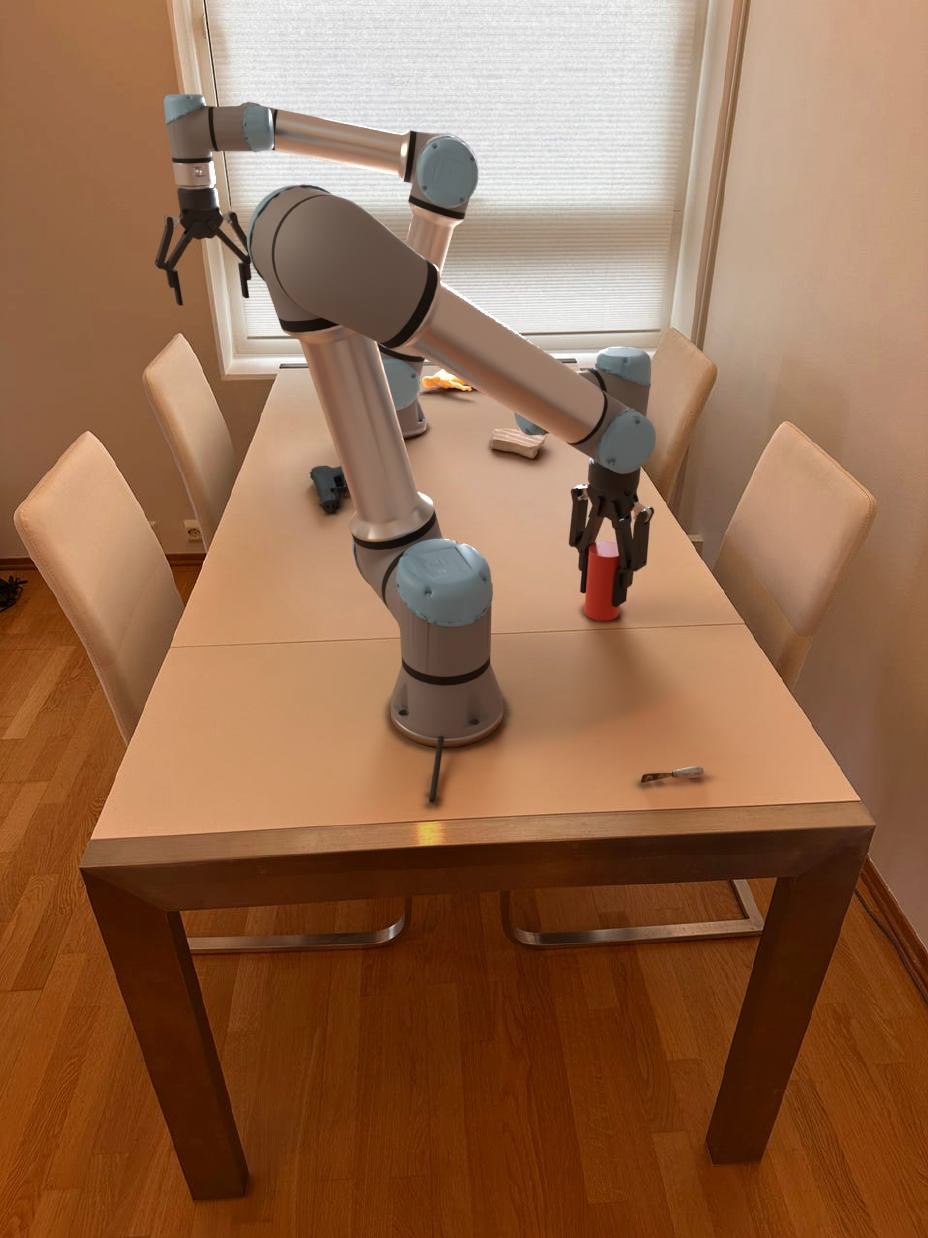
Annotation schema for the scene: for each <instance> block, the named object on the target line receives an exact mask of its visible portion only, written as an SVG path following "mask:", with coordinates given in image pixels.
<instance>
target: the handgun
mask: <svg viewBox="0 0 928 1238" xmlns="http://www.w3.org/2000/svg"><path fill="white" fill-rule="evenodd" d="M309 475H310V476H309V478H310V479H311V480H312V481H313V484H314V488H315V490H316V493H317V496H318V498H319V502H320V503H319V504H317V505H318V507H320V508H322V511H324V513H326V514H330V513H336V510H337V508H338V509H340V508H341V501H340V496H339V495H341V494H346V493H347V492H348V490H347V489H348V485H347V482H346V479H345V476H344V473H343V470H342V467H341V465H340V466H337V467H331V466H329V465H318V466H314V467H313V468H311V470H310V471H309Z"/></svg>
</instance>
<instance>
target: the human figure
mask: <svg viewBox="0 0 928 1238" xmlns="http://www.w3.org/2000/svg"><path fill="white" fill-rule="evenodd" d="M421 381H422V386H424V387H425V388H429V389H430V388H433V387H436V384H438V385H440V386H441V388H444V389H449V388H451V389H453V388H456V389H460V390H462V391H466V390H467V392H471V391H472V390H473V389H472V386H470V385H468V384H466V383H465V382H463V381H461V380H460V379H458V378H456V377H455V376H453V375H451V374H450V373H447V372H446V371H445V370H443V369H441V370H439V371H438V372H436V373H435V374H434V375H432V376H429V375H426V376H424V377H423V378H422V380H421Z"/></svg>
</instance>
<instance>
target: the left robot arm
mask: <svg viewBox="0 0 928 1238" xmlns="http://www.w3.org/2000/svg"><path fill="white" fill-rule="evenodd" d="M163 107H164V116H165V122H164V123H165V126H166V132H167V137H168V143H169V149H170V154H171V155H170V156H171V162H172V168H173V175H174V182H175V185H176V186H177V187H178V188H177V190H176V194H177V199H178V200H177V201H178V207H179V216H170V215H169V214H166V215H165V216H164V218H163V219H164V230H163V232H162V236H161V240H160V243H159V247H158V250H157V253H156V257H155V260H154V265H155V267H157V269H160V270H164V271H165V275H166V281H167V286H168V287H169V288H170V289H173V291H174V297H175V301H176V304H177V305H178V306H184V302H183V301H184V300H183V296H182V291H181V284H180V279H179V277H180V276H179V272H178V270H177V269H175V267H176V265H177V264H178V262H179V260H180V259H181V257H182V256H183V254H184V252H185V251H186V249H187V248H188V246H189V244H190V243H191V242H192V240H193V239H195V240H198V241H199V240H203V239H209V240H210V239H211V240H212V239H214V238H215V237H217V238H218V239H219V240H220V241H221V242H222V243H223V244H225V246H226V247H227V248H228V249H229V250H230V251H231V252H232V253H233V254H234V255H235V256H236V257H237V258H238V259H239V260H240V261H241V262H237V267H238V273H239V281H240V288H241V296H242V297H243V298H244V299H250V293H249V285H248V284H249V283H248V281H251V280H252V271H251V265H252V262H251V259H250V255H249V252H248V247H247V234H246V233H245V232H244V230H243V228H242V227H241V225H240V222H239V219H238V215H237V213H236V212H235V211H233V210H228V211H227V212H225V213H222V212H221V209H220V203H219V202H220V201H219V195H218V188H216V187H215V184H216V183H217V182H216V181H217V180H216V174H215V168H214V159H213V152H215V153H217V152H254V153H260V152H268V151H274V152H281V153H285V154H290V155H294V156H295V155H296V156H300V157H305V158H311V159H315V160H319V161H324V162H330V163H334V164H341V165H345V166H350V167H354V168H359V169H365V170H370V171H375V172H380V173H383V174H388V175H389V174H390V175H395V176H397V177H398V178H399V179H400V181H401V182H402V183H408V184H411V188H410V193H409V196H408V200H407V204H408V205H409V207H410V210H411V212H412V216H411V220H410V224H409V228H408V232H407V236H406V240H405V243H406V244H407V245H408V246H409V247H411V248H412V249H413V250H414V251H416V252H417V253H418V254H420V255H421V256H422V257H424V258H425V259H427V260H428V261H430V262H431V263H433V264H434V265H435V266H436V267H437V268H438V270H439V273H440V277H441V276H442V274H443V273H442V272H443V269H444V265H445V262H446V258H447V255H448V252H449V251H448V250H449V247H450V244H451V240H452V236H453V232H454V229H455V227H456V226H458V225H459V224H461V223H463V222H464V221H465V218H466V214H467V212H468V211H467V210H468V208H469V204H470V200H471V197H472V196H473V194H474V193H475V191H476V190H477V186H478V183H479V179H480V178H479V177H480V170H479V163H478V159H477V157H476V154H475V152H474V150H473V149H472V148H471V146H469V144H468V143H466V141H465V140H463V139H461V138H460V137H459V136H456V135H455V134H452V133H445V132H424V131H416V130H412V129H407V131H405V132H404V133H399V132H394V131H393V132H392V131H388V130H383V129H379V128H373V127H370V126H369V127H368V126H364V125H358V124H354V123H348V122H344V121H339V120H334V119H330V118H324V117H321V116H320V117H319V116H314V115H309V114H304V113H300V112H295V111H289V110H284V109H279V108H274V107H270V106H264V105H261V104H259V103H256V102H253V101H252V102H249V101H247V102H242V103H241V104H239V105H229V106H227V105H226V106H214V105H212V106H211V105H207V102H206V100H205V96H203V95H202V94H200V93H175V94H167V95H166V96H165V97H164V99H163ZM224 221H225V222H226V224H227V225H230V226H231V227H230V228H231V229H232V230H233V232H234V234H235V235H236V236H237V238H238V240H239V242H240V243H241V245H242V247H243V248H244V251H246V253H247V254H245V253H244V252H243V251H242V249H240V248H239V247H238V246H237V245H236V243H234V242H233V241H232V240H231V238H229V237H228V236H227V234H226V233H225V232H224V231H223V230H222V229H221V227H222V224H223V222H224ZM178 224H180V226H182V228H183V229H184V230H183V232H182V233H181V235H180V236H181V237H180V238H179V240H178V242H177V243H176V245H175V247H174V249H173V250H172V252H171V254H170V255H169V256H168V259H167V255H168V252H169V249H170V245H171V241H172V238H173V235H174V230H175V229H176V228H177V227H178ZM166 259H167V260H166ZM377 346H378V349H379V353H380V356H381V360H382V364H383V367H384V371H385V374H386V378H387V382H388V385H389V389H390V392H391V396H392V400H393V403H394V407H395V410H396V414H397V418H398V421H399V425H400V428H401V432H402V436H403V439H409V438H413V437H417V436H419V435H421V434H423V433H424V432H425V431H426V430H427V419H426V414H425V412H424V409H423V407H422V404H421V401H420V399H419V398H420V397H419V392H420V390H421V375H422V372H423V368H424V364H425V360H426V359H424V358H423V357H421V356H419V355H417V354H416V353H414V352H412V351H411V350H409V349H407V348H406V347H403V348H400V349H397V350H390V349H388V348H386V347H385V346H383V345H381V344H379V343H378V342H377Z"/></svg>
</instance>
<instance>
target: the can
mask: <svg viewBox="0 0 928 1238" xmlns="http://www.w3.org/2000/svg"><path fill="white" fill-rule="evenodd" d="M619 567H620V560H619V554H618V547H617V541H611V540H600V541H595V543H593V544H591V545H590V547H589V557H588V570H587V582H586V593H585V597H584V607H583V608H584V610H583V611H584V614H585V616H586V617H588V618H590V619H591V620H595V621H600V622H608V621H613V620H614V619H616V618H618V617H619V615H620V607H621V605H619V606H618V607H614V606H612V603H613V592H614V582H615V572H616V569H617V568H619Z"/></svg>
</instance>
